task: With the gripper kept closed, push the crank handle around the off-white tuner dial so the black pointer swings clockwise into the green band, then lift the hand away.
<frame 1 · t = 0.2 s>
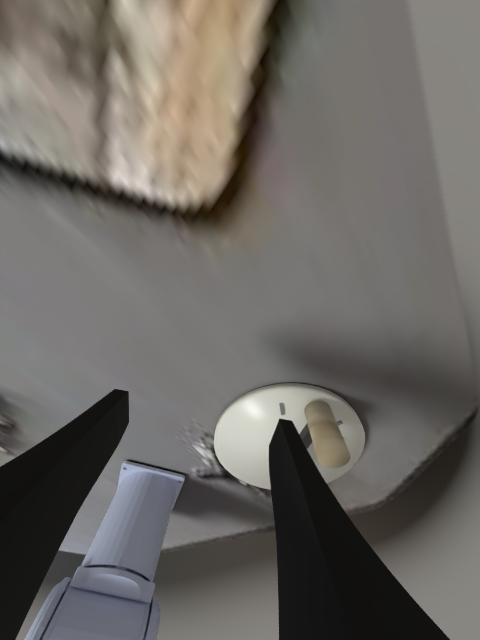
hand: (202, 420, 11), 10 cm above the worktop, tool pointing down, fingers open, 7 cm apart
dial plate: (286, 439, 25), on the worktop
crank handle: (305, 455, 20), point 4 cm above the worktop, hinge at 0.0°
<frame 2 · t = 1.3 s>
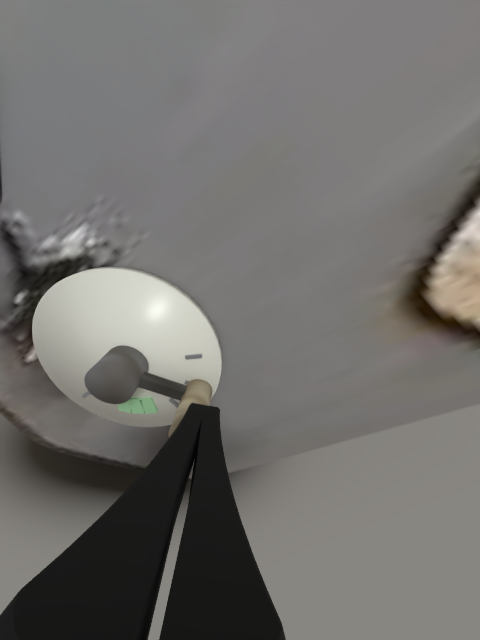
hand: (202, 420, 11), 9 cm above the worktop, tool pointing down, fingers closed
dial plate: (134, 355, 20), on the worktop
crank handle: (149, 395, 17), point 4 cm above the worktop, hinge at 0.0°
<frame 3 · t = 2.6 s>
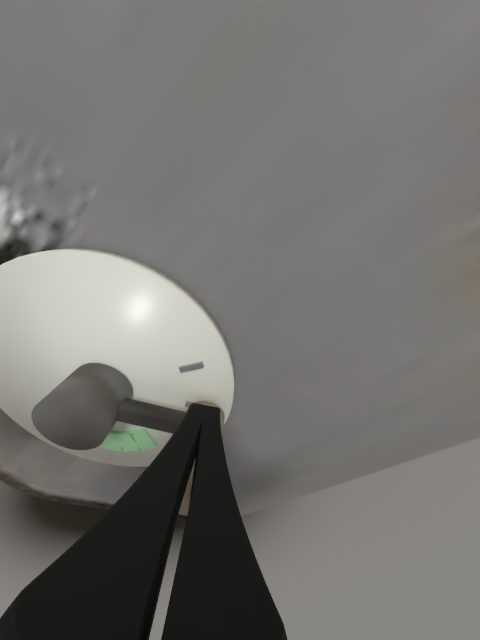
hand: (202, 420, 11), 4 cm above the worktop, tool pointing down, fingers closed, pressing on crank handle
dial plate: (113, 374, 15), on the worktop
crank handle: (132, 433, 12), point 4 cm above the worktop, hinge at -2.1°, touching gripper
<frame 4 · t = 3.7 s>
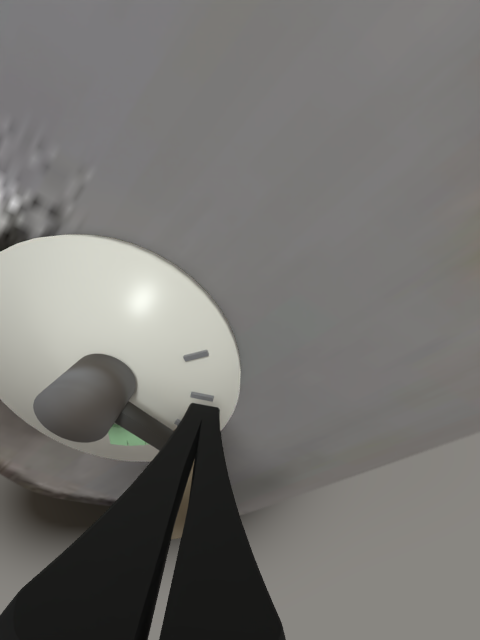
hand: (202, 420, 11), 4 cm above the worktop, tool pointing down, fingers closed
dial plate: (116, 366, 14), on the worktop
crank handle: (127, 441, 12), point 4 cm above the worktop, hinge at -32.8°
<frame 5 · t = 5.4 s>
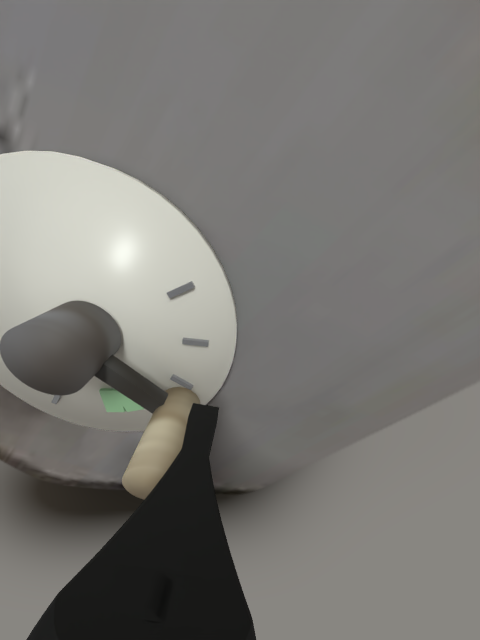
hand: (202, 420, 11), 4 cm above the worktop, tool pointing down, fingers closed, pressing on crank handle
dial plate: (101, 322, 13), on the worktop
crank handle: (109, 395, 11), point 4 cm above the worktop, hinge at -39.3°, touching gripper
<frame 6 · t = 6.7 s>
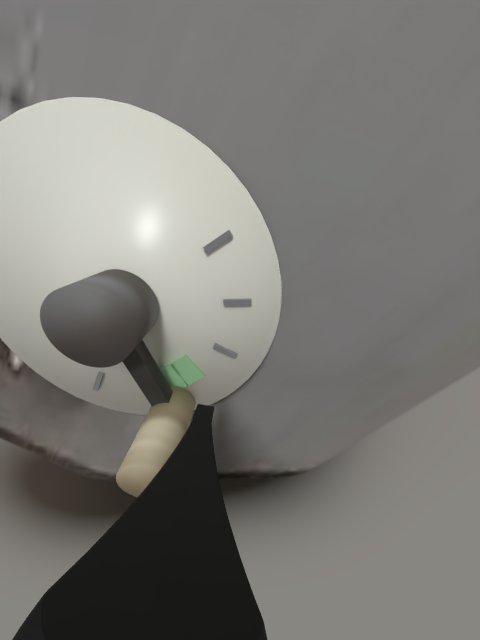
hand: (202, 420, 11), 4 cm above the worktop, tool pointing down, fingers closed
dial plate: (134, 296, 12), on the worktop
crank handle: (129, 381, 10), point 4 cm above the worktop, hinge at -73.6°, touching gripper
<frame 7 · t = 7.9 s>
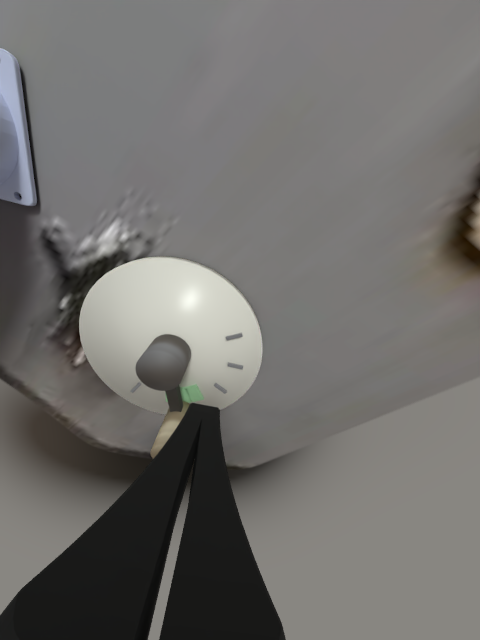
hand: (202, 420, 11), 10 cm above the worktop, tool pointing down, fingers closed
dial plate: (175, 345, 21), on the worktop
crank handle: (167, 398, 19), point 4 cm above the worktop, hinge at -73.7°
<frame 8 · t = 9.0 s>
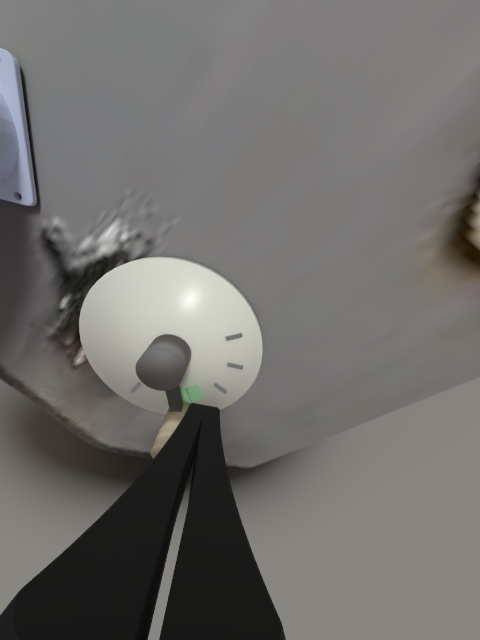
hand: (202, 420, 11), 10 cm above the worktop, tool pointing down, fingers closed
dial plate: (175, 345, 21), on the worktop
crank handle: (167, 398, 19), point 4 cm above the worktop, hinge at -73.7°
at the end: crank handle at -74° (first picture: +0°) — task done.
